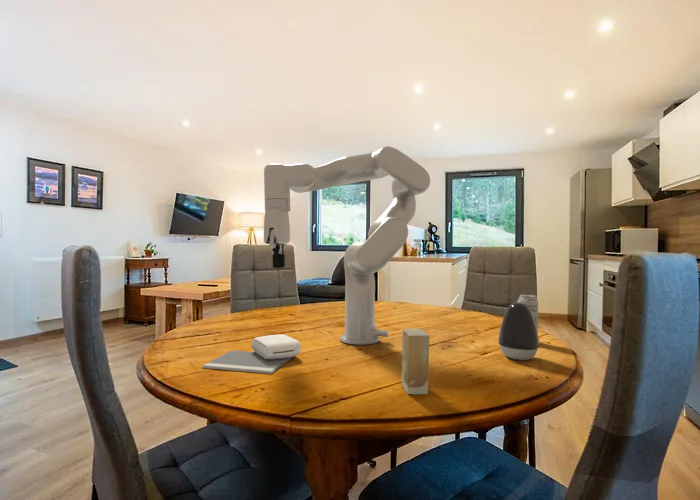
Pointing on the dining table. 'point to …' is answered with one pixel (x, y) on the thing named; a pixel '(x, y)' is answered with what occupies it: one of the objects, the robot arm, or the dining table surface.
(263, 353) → the photo printer
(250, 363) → the mat
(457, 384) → the dining table surface
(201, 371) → the dining table surface
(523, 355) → the grey egg shaped device
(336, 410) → the dining table surface
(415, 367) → the skincare box
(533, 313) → the energy drink can
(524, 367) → the dining table surface
